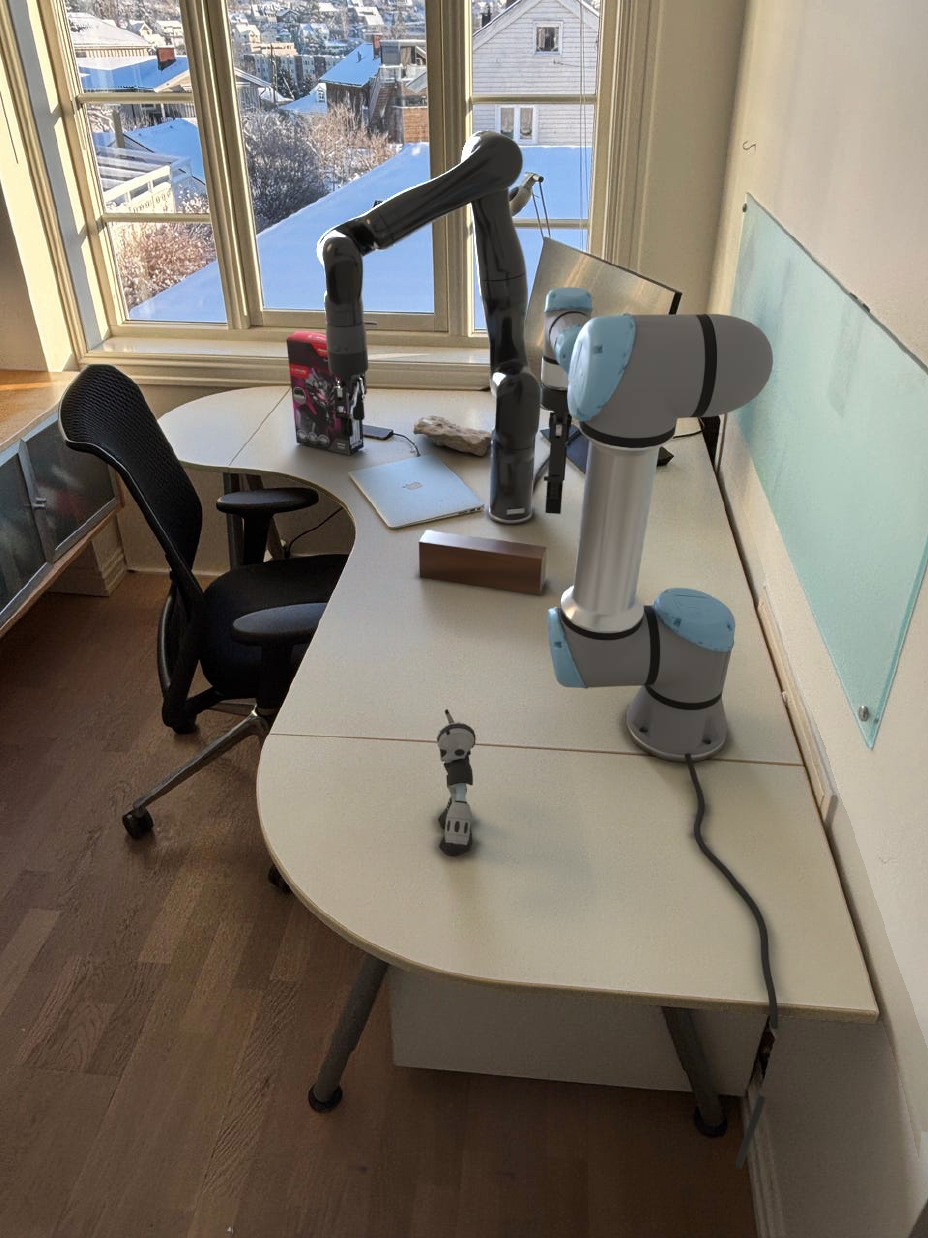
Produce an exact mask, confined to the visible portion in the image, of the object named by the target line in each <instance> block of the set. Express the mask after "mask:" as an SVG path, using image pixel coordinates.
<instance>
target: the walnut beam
mask: <svg viewBox="0 0 928 1238" xmlns="http://www.w3.org/2000/svg"><path fill="white" fill-rule="evenodd" d="M547 552H548V546H546V545H539V544H532V543H525V542H517V541H509V540H504V539H503V540H502V539H496V538H495V539H494V538H488V537H480V536H475V535H466V534H461V533H451V532H445V531H439V530H430V529H425V531H424V533H423V535H422V536H421V538H420V539H419V541H418V561H419V562H418V565H419V566H418V567H419V568H418V570H419V578H421V579H428V580H436V581H442V582H448V583H455V584H456V583H457V584H463V585H469V586H475V587H481V588H488V589H495V590H500V591H501V590H503V591H507V592H508V591H509V592H515V593H520V594H521V593H522V594H529V595H534V596H540V595H541V593H542V590H543V588H544V585H545V583H546V570H547V569H546V567H547V554H548V553H547Z"/></svg>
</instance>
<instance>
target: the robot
mask: <svg viewBox="0 0 928 1238" xmlns="http://www.w3.org/2000/svg"><path fill="white" fill-rule="evenodd" d="M444 713H445V717H446V719H447V723H448V724H445V726H444V727H443V728H441V729H440V730H439V731H438V733H437V736H436V743H437V747H438V748H439V760H440V761H441V762H442V763H443V764H442V765H443V767H444V770H445V771H446V777H445V778H446V788H447V789H448V792H449V793H450V797H449V799H448V801H447V804H446V806H445V808H444V810H443V812H441V813H440V814H439V816H438V818H437V821H438V823H439V825H440V827H441V828H442V829H443V830H444V833H443V835H442V837H441V839H440V843H439V845H438V848H439V849H440V850H441V851H442V852H443V853H444V855H449V856H451V857H452V856H453V857H454V856H460V855H462V854H465V853H467V852H469V851H471V848H472V845H473V834H472V830H471V827H472V817H473V816H472V810H471V806H470V804H469V803H468V801H467V797H466V796H467V793H468V787H467V785H469V786H473V785H474V776H473V768H472V765H471V763H470V756H471V755H472V751H471V749H472V748H474V747H475V745H476V741H477V738H476V733H475V730H474V729H473V728H472V727H471V726H470V725H468V724H466V723H464V722H461V721H455V720H454V719H453V716H452V714H451V713H450V711H449V709H448V708H446V709H445V710H444Z"/></svg>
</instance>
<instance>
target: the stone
mask: <svg viewBox="0 0 928 1238" xmlns="http://www.w3.org/2000/svg"><path fill="white" fill-rule="evenodd" d="M413 427H414V428H413V430H412V431H413V434H414V435H416V436H417V435H424V436H426V438H427V439H428V440H431V441H433V442H434V443H435V445H436V446H440V447H443V446H446V447H448V448H450V449H453V450H457V451H459V452H464V453H471V454H474V455H475V456H478V457H483V456H484V455H485V454H486V452H487V449H488V448H489V446H491V435H492V432H489V431H488V430H487V431H486V430H482V429H474V428H470V427H463V426H460V425H457V424H456V423H452V422H451V421H450V420H447V419H445V418H444V417H442V416H436V415H429V416H422V417H420V418H419V419H418V420H417V421H415V422H414V424H413Z"/></svg>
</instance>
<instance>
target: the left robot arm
mask: <svg viewBox="0 0 928 1238" xmlns="http://www.w3.org/2000/svg"><path fill="white" fill-rule="evenodd" d="M523 166H524V157H523V153H522V150H521V148H520V146H519V145H518V143H517V142H516V141H515V140H513V139H512V138H511V137H509V136H507V135H506V134H502V133H500V132H496V131H492V130H488V129H487V130H486V129H485V130H479V131H477V132H475V133H473V134H472V135H471V136H470V137H469V138H468V140H467V141H466V143H465V145H464V147H463V150H462V155H461V162H460V163H459V164H458V165H456V166H455V167H453V168H451V169H450V170H448V171H447V172H445V173H443V174H441V175H439V176H437V177H435V178H433V179H430V180H428V181H426V182H423V183H420V184H417V185H416V186H412V187H409V188H407V189H405V190H403V191H401V192H398V193H397V194H395V195H393V196H391V197H390V198H388V199H387V200H384V201H382V203H380V204H378V205H375V207H373V208H372V209H370V210H369V211H367V212H365V213H364V214H361V215H359V216H357V217H354V218H351V219H348V220H347V221H344V222H342V223H340V224H338V225H336V226H334V227H332V228H330V229H329V230H327V231H326V232H325V233H323V235H322V236H321V237H320V239H319V240H318V242H317V248H316V253H317V257H318V259H319V261H320V263H321V264H322V265H323V270H324V277H325V289H326V291H325V293H324V298H323V299H324V314H325V315H324V316H325V335H326V343H327V353H328V364H329V370H330V372H331V373H333V374H335V375H337V376H338V377H339V382H338V384H337V387H334V389H333V391H334V404H335V417H336V418H340V422H341V434H342V436H345V437H352V435H353V421H352V413H353V418H354V420H362V421H364V420H365V418H366V415H365V402H364V401H365V400H366V396H365V395H367V393H368V388H367V387H368V386H367V378H366V372H368V370H369V368H370V367H369V353H368V339H367V338H368V337H367V330H366V325H365V314H364V313H365V312H364V303H363V302H364V301H363V286H364V285H363V283H364V257H365V256H367V255H370V254H371V253H373V252H376V251H377V252H378V251H379V252H383V251H386V250H388V249H391V248H393V247H394V246H396V245H398V244H399V243H401V242H402V241H404V240H406V239H408V238H409V237H411V236H413V235H414V234H416V233H418V232H420V231H421V230H423V229H424V228H425V227H427V226H429V225H431V224H433V223H434V222H437V221H438V220H439V219H441V218H444V217H445V216H447V215H449V214H450V213H452V212H455V211H456V210H459V209H461V208H463V207H465V206H468V205H469V204H470V207H471V209H470V210H471V214H472V221H473V234H474V246H475V247H474V248H475V258H476V268H477V277H478V278H477V279H478V287H479V288H478V289H479V295H480V301H481V306H482V308H481V309H482V313H483V319H484V325H485V329H486V334H487V338H488V350H489V351H488V352H489V353H488V354H489V388H490V392H491V394H492V396H493V398H494V400H495V421H494V426H493V427H492V428H491V434H492V435H491V444H490V476H489V478H490V481H489V483H490V484H489V509H488V515H489V517H490V518H491V519H492V520H493V521H495V522H497V523H500V524H507V525H517V524H523V523H525V522H527V521H528V520H530V519H531V518H532V515H533V510H532V509H533V507H532V506H533V491H534V490H533V489H534V487H535V486H536V483H537V479H538V477H539V475H540V473H541V472H542V470H543V469H544V467H545V466H546V465H547V464H548V463H549V458H550V454H548V456H546V458H545V459H544V460H543V462H542V464H540V465H539V467H538V468H537V470H536V472H535V454H536V453H535V451H536V438H537V437H536V436H537V434H538V431H539V426H540V418H541V408H542V405H541V403H540V395H541V384H540V382H539V380H538V378H537V376H536V375H535V374H534V372H533V371H532V370H531V367H530V363H529V359H528V355H527V354H528V353H527V348H526V340H525V339H526V338H525V327H526V319H527V314H528V305H529V285H528V273H527V266H526V260H525V256H524V251H523V248H522V244H521V241H520V237H519V235H518V232H517V229H516V226H515V222H514V220H513V216H512V210H511V203H510V188H511V187H512V186H513V185H515V183H516V182H517V180H518V179H519V178H520V175H521V174H522V171H523ZM343 407H345V412H343ZM579 432H581V431H580V430H579V429H578V428H576V430H574V431H573V432H572V433H571V434H569V440H571V439H572V438H573V437H574V436H576V434H577V433H579Z"/></svg>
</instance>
